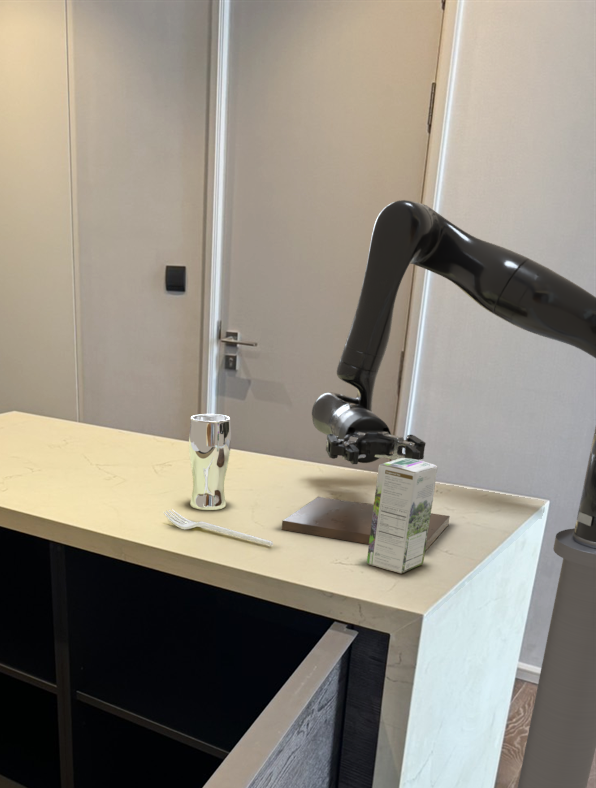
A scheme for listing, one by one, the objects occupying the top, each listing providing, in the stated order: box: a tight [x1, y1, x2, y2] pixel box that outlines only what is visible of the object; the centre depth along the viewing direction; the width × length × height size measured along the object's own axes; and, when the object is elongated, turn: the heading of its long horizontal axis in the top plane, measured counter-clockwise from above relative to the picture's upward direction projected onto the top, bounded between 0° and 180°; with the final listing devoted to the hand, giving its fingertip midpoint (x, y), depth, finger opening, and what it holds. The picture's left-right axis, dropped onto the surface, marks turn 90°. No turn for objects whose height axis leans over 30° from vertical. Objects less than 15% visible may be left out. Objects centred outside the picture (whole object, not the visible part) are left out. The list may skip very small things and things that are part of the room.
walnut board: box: [281, 496, 451, 552], centre depth 136 cm, size 22×16×2 cm
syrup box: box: [366, 458, 439, 574], centre depth 118 cm, size 6×6×14 cm
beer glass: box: [188, 413, 232, 511], centre depth 145 cm, size 7×7×15 cm
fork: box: [162, 508, 274, 547], centre depth 133 cm, size 3×20×2 cm, turn 49°
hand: (385, 457), depth 126 cm, fingers open, 8 cm apart
